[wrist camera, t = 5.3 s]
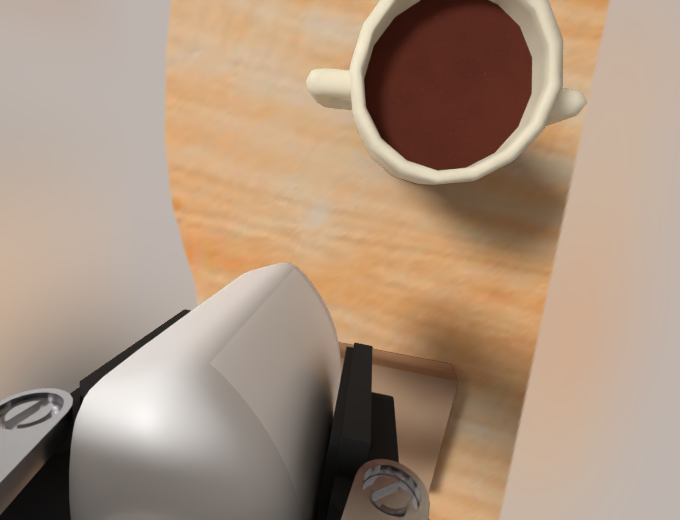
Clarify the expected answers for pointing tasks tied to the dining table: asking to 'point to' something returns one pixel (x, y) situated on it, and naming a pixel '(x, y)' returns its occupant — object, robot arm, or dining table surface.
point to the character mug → (451, 85)
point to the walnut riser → (415, 405)
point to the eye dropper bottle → (215, 411)
